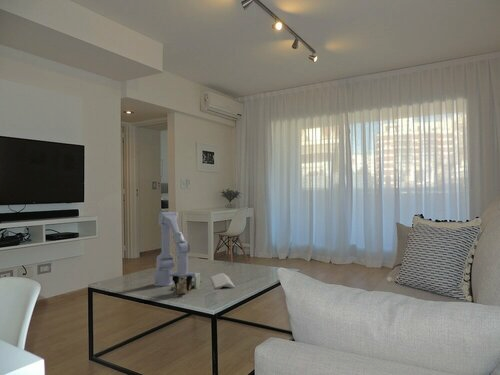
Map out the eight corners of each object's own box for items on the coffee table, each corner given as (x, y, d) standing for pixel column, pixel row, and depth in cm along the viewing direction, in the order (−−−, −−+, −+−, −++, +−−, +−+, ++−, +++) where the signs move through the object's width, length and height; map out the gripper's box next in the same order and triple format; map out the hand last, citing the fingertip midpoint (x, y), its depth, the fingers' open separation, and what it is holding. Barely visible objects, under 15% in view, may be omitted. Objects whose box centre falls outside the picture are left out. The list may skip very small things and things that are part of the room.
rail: (175, 297, 184) (175, 297, 184) (190, 283, 214) (190, 283, 214) (181, 297, 184) (181, 297, 184) (195, 283, 214) (195, 283, 214)
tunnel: (179, 288, 202) (178, 276, 203) (183, 284, 212) (183, 272, 212) (196, 288, 201) (196, 276, 202) (200, 284, 211) (200, 272, 212)
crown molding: (209, 278, 228) (209, 273, 228) (228, 277, 231) (228, 272, 231) (214, 290, 200) (214, 284, 200) (236, 288, 202) (236, 282, 202)
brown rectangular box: (176, 293, 190) (176, 283, 190) (183, 287, 202) (183, 278, 202) (186, 293, 190) (186, 283, 190) (191, 287, 202) (191, 278, 202)
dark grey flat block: (186, 283, 214) (186, 283, 214) (188, 281, 219) (188, 281, 219) (199, 283, 213) (199, 283, 213) (201, 281, 218) (201, 281, 218)
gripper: (167, 266, 189) (167, 291, 189) (193, 266, 188) (194, 292, 188) (171, 263, 196) (171, 288, 196) (197, 263, 195) (197, 288, 195)
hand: (182, 290), depth 192 cm, fingers closed on brown rectangular box, 5 cm apart
